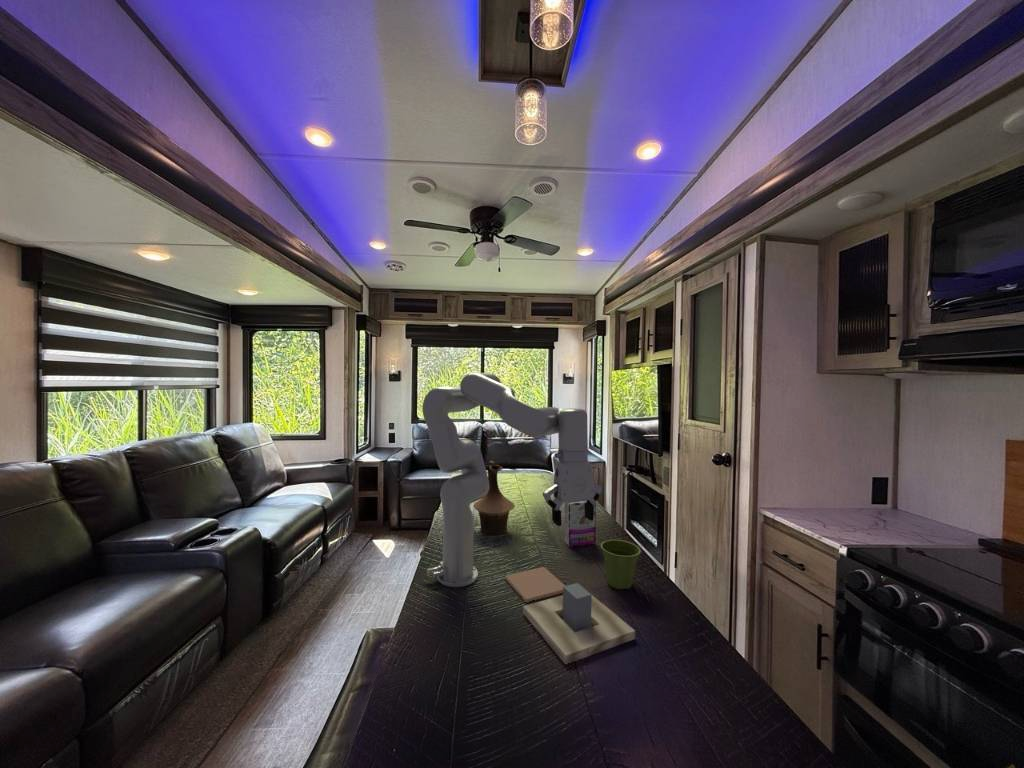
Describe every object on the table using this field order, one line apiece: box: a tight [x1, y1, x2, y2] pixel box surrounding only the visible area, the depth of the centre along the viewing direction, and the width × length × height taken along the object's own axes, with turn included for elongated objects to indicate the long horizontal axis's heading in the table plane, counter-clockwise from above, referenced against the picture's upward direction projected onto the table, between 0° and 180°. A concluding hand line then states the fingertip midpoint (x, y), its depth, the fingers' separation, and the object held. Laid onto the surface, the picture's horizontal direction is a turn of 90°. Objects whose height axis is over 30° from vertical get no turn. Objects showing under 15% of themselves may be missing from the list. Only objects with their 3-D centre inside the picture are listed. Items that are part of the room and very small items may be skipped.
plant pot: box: [600, 539, 642, 590], centre depth 117 cm, size 12×12×11 cm
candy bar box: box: [564, 501, 597, 548], centre depth 146 cm, size 11×5×16 cm, turn 105°
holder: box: [522, 594, 636, 665], centre depth 97 cm, size 20×20×2 cm
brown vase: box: [473, 460, 516, 536], centre depth 157 cm, size 18×17×28 cm
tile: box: [504, 566, 566, 603], centre depth 115 cm, size 14×14×1 cm
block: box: [561, 582, 593, 632], centre depth 97 cm, size 4×6×9 cm
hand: (573, 521), depth 100 cm, fingers open, 9 cm apart
